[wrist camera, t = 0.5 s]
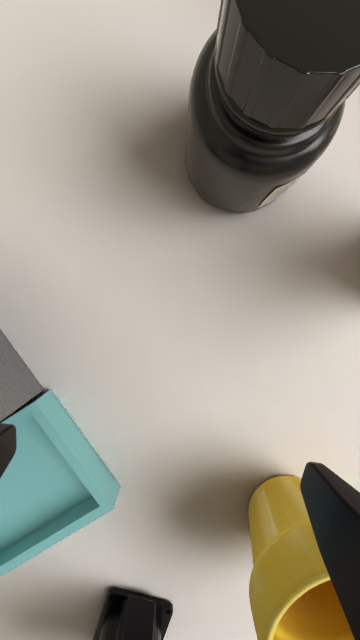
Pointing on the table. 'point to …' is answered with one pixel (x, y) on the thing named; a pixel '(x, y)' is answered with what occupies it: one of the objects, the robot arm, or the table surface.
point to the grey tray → (14, 380)
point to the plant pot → (289, 569)
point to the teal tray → (49, 482)
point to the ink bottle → (269, 96)
